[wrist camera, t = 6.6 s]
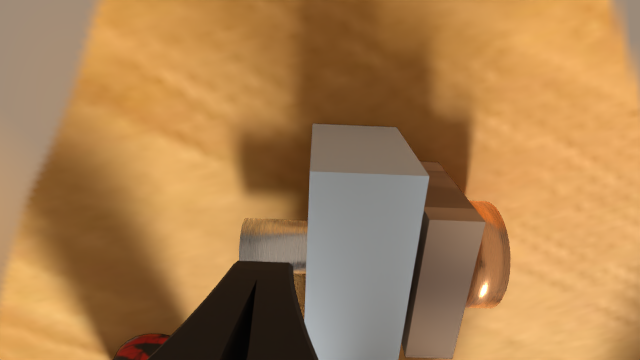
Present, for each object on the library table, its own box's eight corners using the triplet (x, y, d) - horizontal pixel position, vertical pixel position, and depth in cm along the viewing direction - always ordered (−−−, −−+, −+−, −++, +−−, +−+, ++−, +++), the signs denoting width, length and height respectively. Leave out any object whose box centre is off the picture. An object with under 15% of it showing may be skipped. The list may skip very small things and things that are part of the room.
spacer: (418, 271, 22) (452, 358, 16) (383, 270, 22) (405, 357, 16) (438, 162, 19) (485, 222, 14) (398, 160, 19) (429, 219, 14)
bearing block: (375, 295, 22) (393, 387, 17) (306, 292, 22) (301, 384, 17) (396, 127, 18) (429, 176, 13) (312, 123, 18) (309, 171, 13)
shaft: (475, 184, 19) (521, 236, 15) (457, 265, 21) (493, 332, 17) (251, 175, 19) (230, 225, 14) (253, 258, 21) (236, 324, 16)
